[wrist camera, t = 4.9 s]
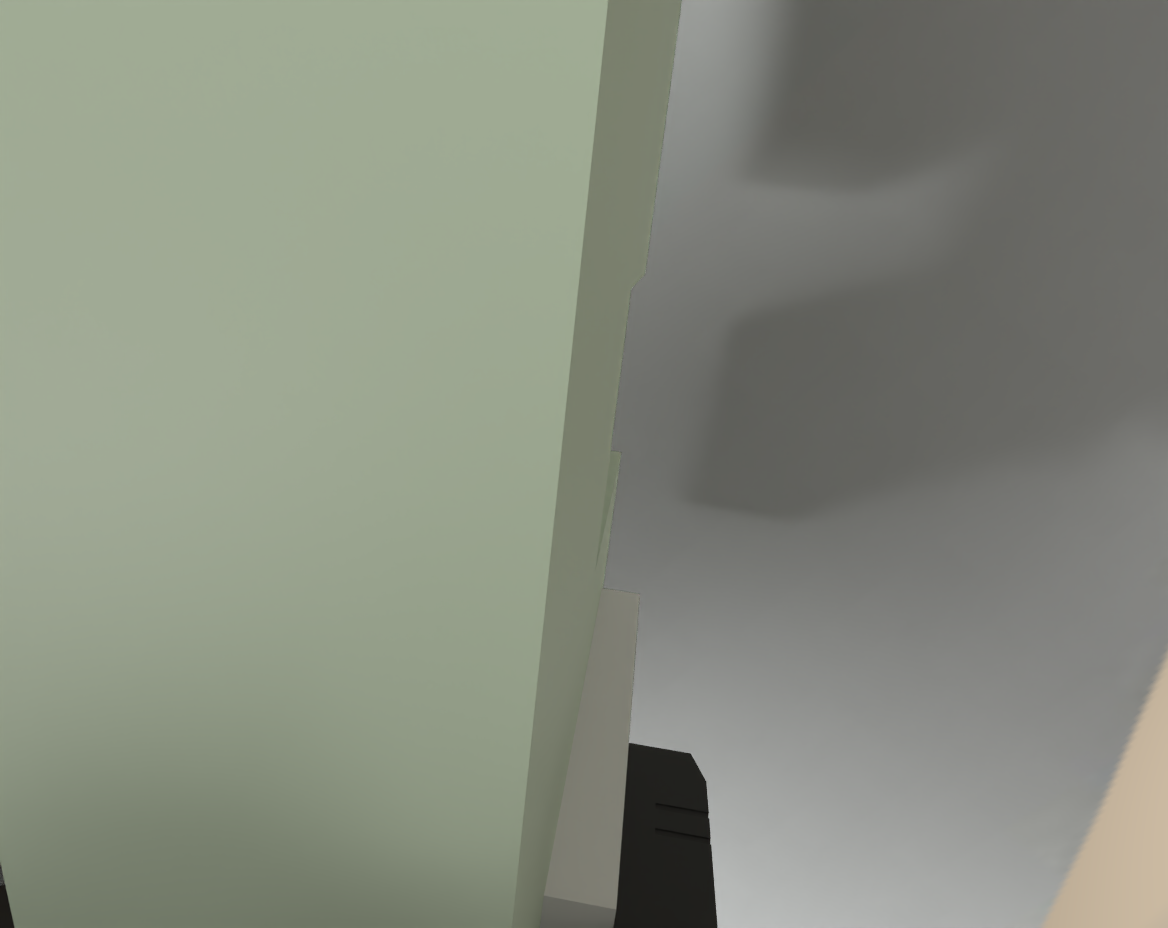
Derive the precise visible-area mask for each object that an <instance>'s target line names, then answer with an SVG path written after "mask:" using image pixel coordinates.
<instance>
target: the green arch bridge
mask: <svg viewBox="0 0 1168 928" xmlns="http://www.w3.org/2000/svg"><path fill="white" fill-rule="evenodd" d="M681 3H682V0H0V864H1V868H2V873H3V877H4V882H5V886H6V891H7V895H8V900H9V904H10V909H11V913H12V918H13V922H14V927H15V928H540V923H541V914H542V906H543V898H544V892H545V887H546V881H547V876H548V871H549V865H550V860H551V855H552V849H553V844H554V839H555V834H556V828H557V823H558V818H559V812H560V807H561V802H562V797H563V791H564V786H565V781H566V775H567V770H568V765H569V759H570V754H571V749H572V744H573V738H574V733H575V728H576V722H577V717H578V712H579V706H580V701H581V696H582V691H583V685H584V680H585V675H586V669H587V664H588V659H589V653H590V648H591V643H592V638H593V632H594V627H595V622H596V616H597V611H598V606H599V601H600V595H601V590H602V588H603V586H604V578H605V571H606V563H607V556H608V548H609V541H610V533H611V526H612V519H613V511H614V504H615V496H616V489H617V481H618V474H619V466H620V459H621V452H616V451H611V444H612V436H613V429H614V421H615V413H616V405H617V397H618V390H619V382H620V374H621V366H622V359H623V351H624V343H625V335H626V327H627V320H628V312H629V304H630V296H631V289H632V288H633V287H634V286H635V285H636V284H637V283H638V282H639V281H640V279H641V278H642V277H643V276H644V275H645V272H646V265H647V257H648V250H649V242H650V235H651V227H652V220H653V212H654V205H655V197H656V190H657V182H658V175H659V167H660V160H661V153H662V145H663V138H664V130H665V123H666V115H667V108H668V100H669V93H670V85H671V78H672V70H673V63H674V55H675V48H676V41H677V33H678V26H679V18H680V11H681Z"/></svg>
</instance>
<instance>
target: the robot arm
mask: <svg viewBox="0 0 1168 928" xmlns="http://www.w3.org/2000/svg"><path fill="white" fill-rule="evenodd" d="M639 600H640V594H637V593H631V592H624V591H618V590H612V589H605V588H602V590H601V595H600V601H599V606H598V611H597V616H596V622H595V627H594V632H593V638H592V643H591V648H590V653H589V659H588V664H587V669H586V675H585V680H584V685H583V691H582V696H581V701H580V706H579V712H578V717H577V722H576V728H575V733H574V738H573V744H572V749H571V754H570V759H569V765H568V770H567V775H566V781H565V786H564V791H563V797H562V802H561V807H560V812H559V818H558V823H557V828H556V834H555V839H554V844H553V849H552V855H551V860H550V865H549V871H548V876H547V881H546V887H545V892H544V898H543V906H542V914H541V923H540V928H717V916H716V903H715V890H714V877H713V864H712V851H711V845H710V825H709V818H708V813H709V812H708V799H707V786H706V781H705V779H704V777H703V775H702V773H701V772H700V770H699V768H698V766H697V764H696V763H695V761H694V759H693V757H692V755H691V754H690V753H684V752H678V751H672V750H667V749H661V748H655V747H649V746H643V745H638V744H632V743H629V734H630V720H631V707H632V694H633V680H634V667H635V654H636V640H637V627H638V614H639ZM0 928H15V927H14V922H13V918H12V913H11V909H10V904H9V900H8V895H7V891H6V886H5V885H2V886H0Z"/></svg>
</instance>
